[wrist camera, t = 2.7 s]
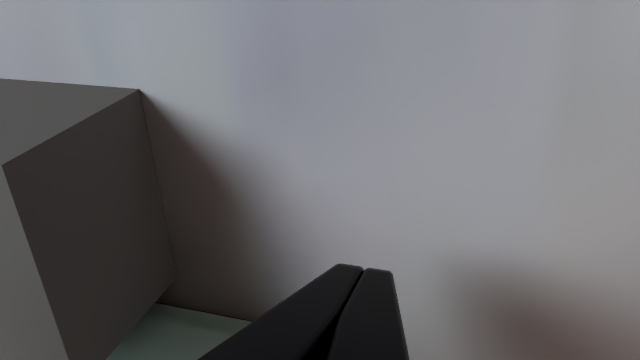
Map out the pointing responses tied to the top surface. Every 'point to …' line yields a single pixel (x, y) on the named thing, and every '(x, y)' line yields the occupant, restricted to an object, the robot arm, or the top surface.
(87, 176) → the block
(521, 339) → the top surface
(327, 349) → the robot arm
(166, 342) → the tray
